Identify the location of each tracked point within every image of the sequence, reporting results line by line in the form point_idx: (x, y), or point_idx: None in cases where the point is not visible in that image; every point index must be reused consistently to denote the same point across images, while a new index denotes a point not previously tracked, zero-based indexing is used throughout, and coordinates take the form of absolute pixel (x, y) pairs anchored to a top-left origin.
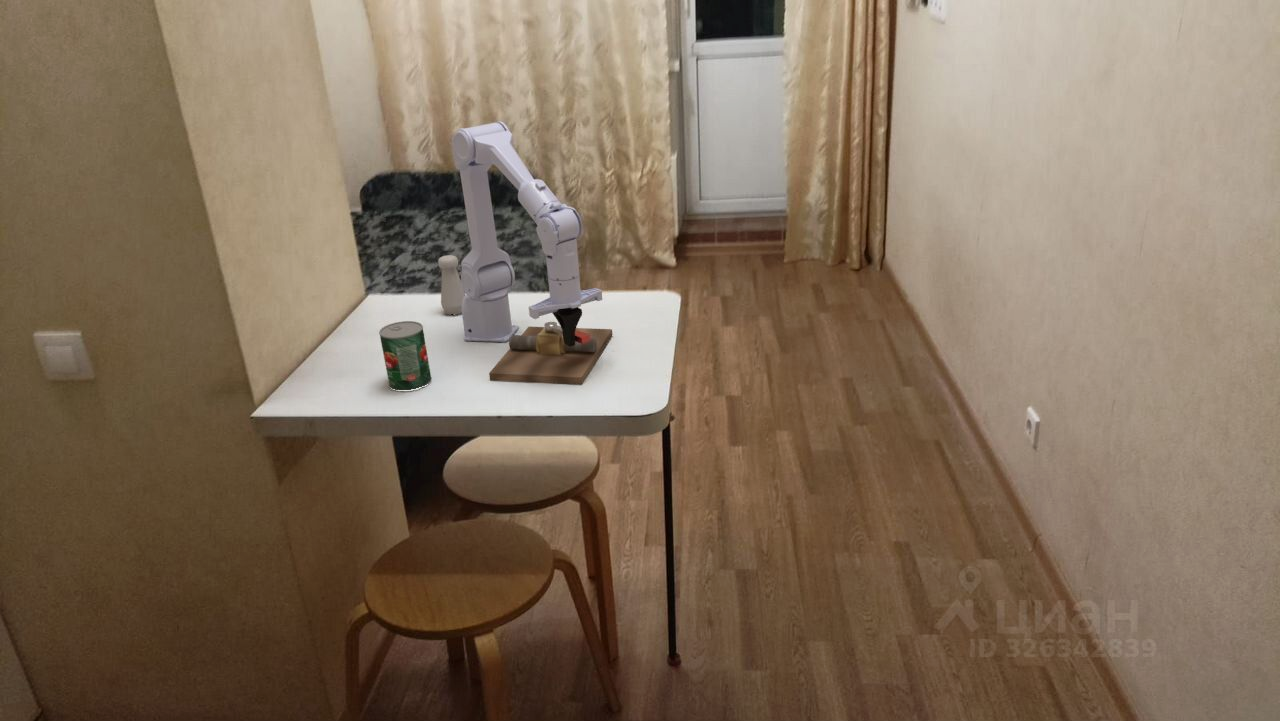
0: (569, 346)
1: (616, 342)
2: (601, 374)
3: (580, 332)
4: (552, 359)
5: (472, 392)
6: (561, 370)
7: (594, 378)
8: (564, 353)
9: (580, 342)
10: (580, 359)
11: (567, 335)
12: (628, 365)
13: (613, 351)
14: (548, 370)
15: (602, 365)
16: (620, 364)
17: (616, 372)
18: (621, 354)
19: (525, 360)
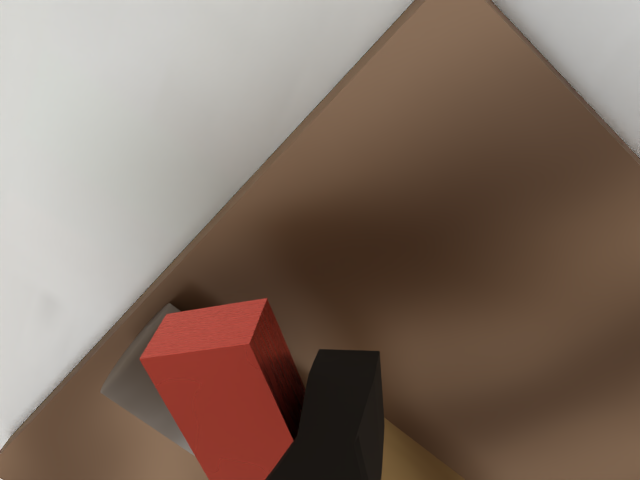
0: (379, 354)
1: (7, 374)
2: (230, 48)
3: (207, 445)
4: (452, 388)
5: None
6: (512, 208)
7: (307, 14)
8: None
9: (274, 325)
10: (293, 278)
11: (367, 462)
12: (2, 63)
13: (48, 300)
14: (591, 269)
15: (170, 178)
16: (52, 115)
17: (115, 6)
18: (12, 239)
19: (601, 472)
